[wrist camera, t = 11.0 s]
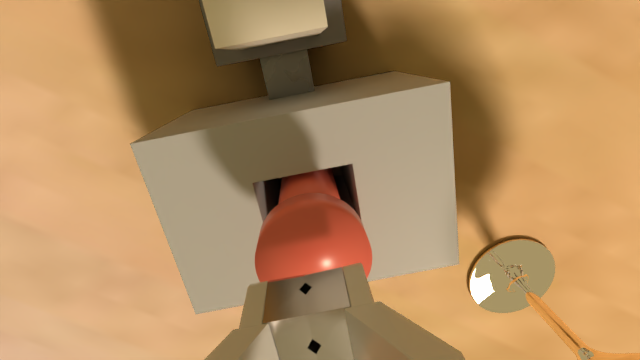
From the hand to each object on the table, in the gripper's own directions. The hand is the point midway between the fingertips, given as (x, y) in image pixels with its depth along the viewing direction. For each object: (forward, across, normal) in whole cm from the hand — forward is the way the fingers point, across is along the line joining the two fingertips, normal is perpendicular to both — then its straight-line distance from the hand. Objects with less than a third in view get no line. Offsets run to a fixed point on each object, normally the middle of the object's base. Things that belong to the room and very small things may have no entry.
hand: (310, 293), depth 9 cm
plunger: (+10, 0, 0) cm, 10 cm away
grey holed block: (+13, 0, 0) cm, 13 cm away
